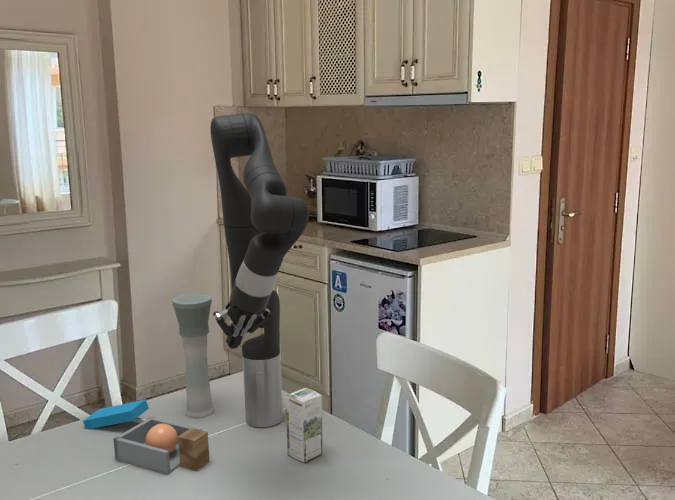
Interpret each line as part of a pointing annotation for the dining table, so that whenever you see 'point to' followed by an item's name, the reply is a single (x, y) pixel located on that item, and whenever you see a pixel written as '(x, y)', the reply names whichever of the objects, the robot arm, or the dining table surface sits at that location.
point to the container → (195, 351)
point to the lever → (117, 414)
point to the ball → (162, 437)
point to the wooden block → (193, 449)
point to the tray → (148, 447)
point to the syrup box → (304, 424)
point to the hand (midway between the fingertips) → (231, 345)
